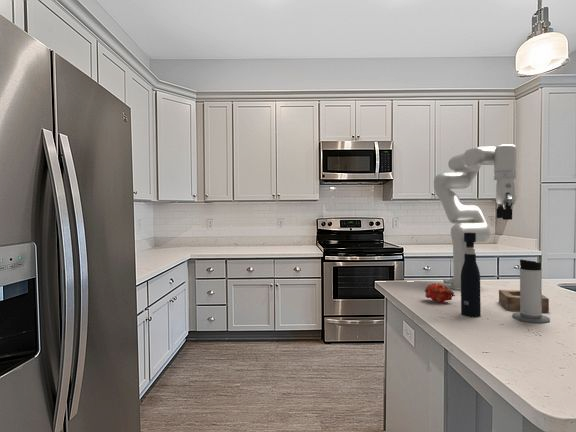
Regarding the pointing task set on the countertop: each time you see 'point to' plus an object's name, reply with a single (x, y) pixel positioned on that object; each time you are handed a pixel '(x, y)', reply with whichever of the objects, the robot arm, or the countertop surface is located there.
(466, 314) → the black water bottle
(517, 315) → the coaster
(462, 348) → the countertop surface
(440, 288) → the dragon fruit
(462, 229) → the robot arm
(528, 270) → the travel mug
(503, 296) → the mug holder
